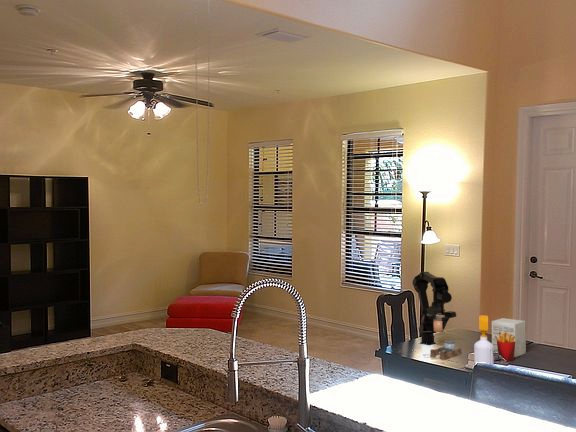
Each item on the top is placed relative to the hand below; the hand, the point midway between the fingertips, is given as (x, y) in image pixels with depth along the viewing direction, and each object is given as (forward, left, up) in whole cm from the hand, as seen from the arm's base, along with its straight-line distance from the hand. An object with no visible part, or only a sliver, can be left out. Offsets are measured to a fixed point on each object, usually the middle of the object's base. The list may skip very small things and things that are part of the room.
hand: (438, 328), depth 320 cm
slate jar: (+10, -5, -12) cm, 16 cm away
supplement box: (+32, +18, -12) cm, 38 cm away
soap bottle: (+34, -15, -12) cm, 39 cm away
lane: (+10, -10, -12) cm, 18 cm away
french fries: (+38, +1, -12) cm, 39 cm away
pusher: (+10, -12, -11) cm, 19 cm away
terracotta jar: (0, 0, -2) cm, 2 cm away
